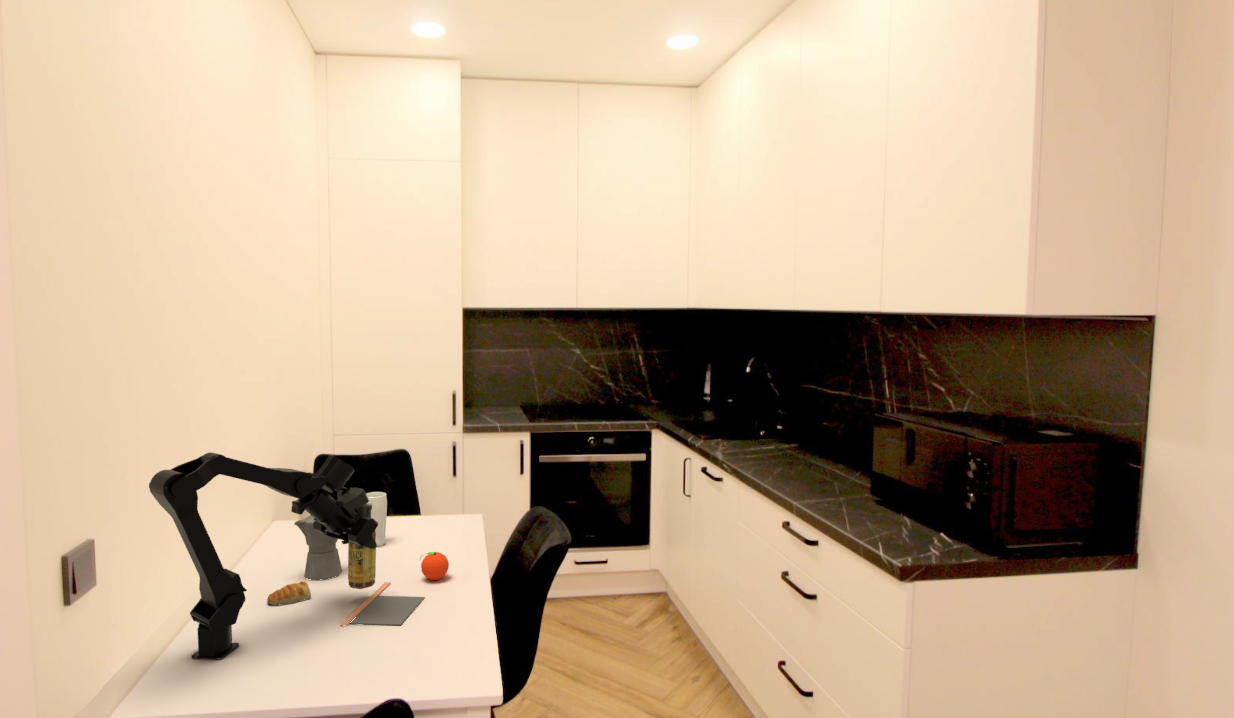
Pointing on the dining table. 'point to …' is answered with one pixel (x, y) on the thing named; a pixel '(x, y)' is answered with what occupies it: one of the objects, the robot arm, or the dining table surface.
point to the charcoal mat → (388, 610)
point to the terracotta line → (366, 603)
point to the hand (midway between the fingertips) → (367, 544)
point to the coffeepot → (320, 552)
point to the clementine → (434, 565)
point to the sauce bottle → (362, 558)
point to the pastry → (290, 594)
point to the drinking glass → (379, 514)
